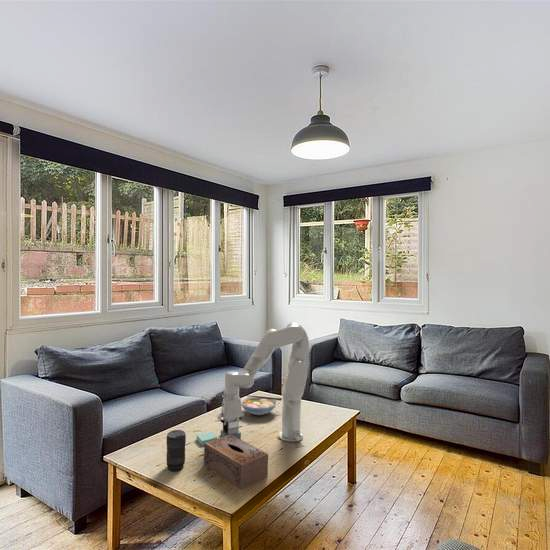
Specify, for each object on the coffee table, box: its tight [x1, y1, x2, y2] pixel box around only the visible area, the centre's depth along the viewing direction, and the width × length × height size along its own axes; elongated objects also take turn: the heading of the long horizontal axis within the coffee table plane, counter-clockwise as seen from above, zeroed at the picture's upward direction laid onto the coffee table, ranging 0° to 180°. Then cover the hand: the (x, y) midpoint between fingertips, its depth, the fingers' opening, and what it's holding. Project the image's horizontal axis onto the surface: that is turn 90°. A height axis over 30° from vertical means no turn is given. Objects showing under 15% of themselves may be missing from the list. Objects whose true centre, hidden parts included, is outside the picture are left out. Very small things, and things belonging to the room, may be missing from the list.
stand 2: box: [220, 429, 242, 439], centre depth 201 cm, size 8×8×2 cm
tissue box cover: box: [203, 434, 269, 490], centre depth 167 cm, size 26×14×10 cm, turn 45°
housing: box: [226, 418, 240, 435], centre depth 201 cm, size 7×6×6 cm
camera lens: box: [166, 429, 187, 472], centre depth 168 cm, size 8×8×15 cm
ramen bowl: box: [240, 394, 283, 416], centre depth 234 cm, size 25×23×8 cm
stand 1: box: [196, 431, 218, 447], centre depth 195 cm, size 8×8×2 cm
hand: (230, 430), depth 201 cm, fingers closed on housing, 5 cm apart
